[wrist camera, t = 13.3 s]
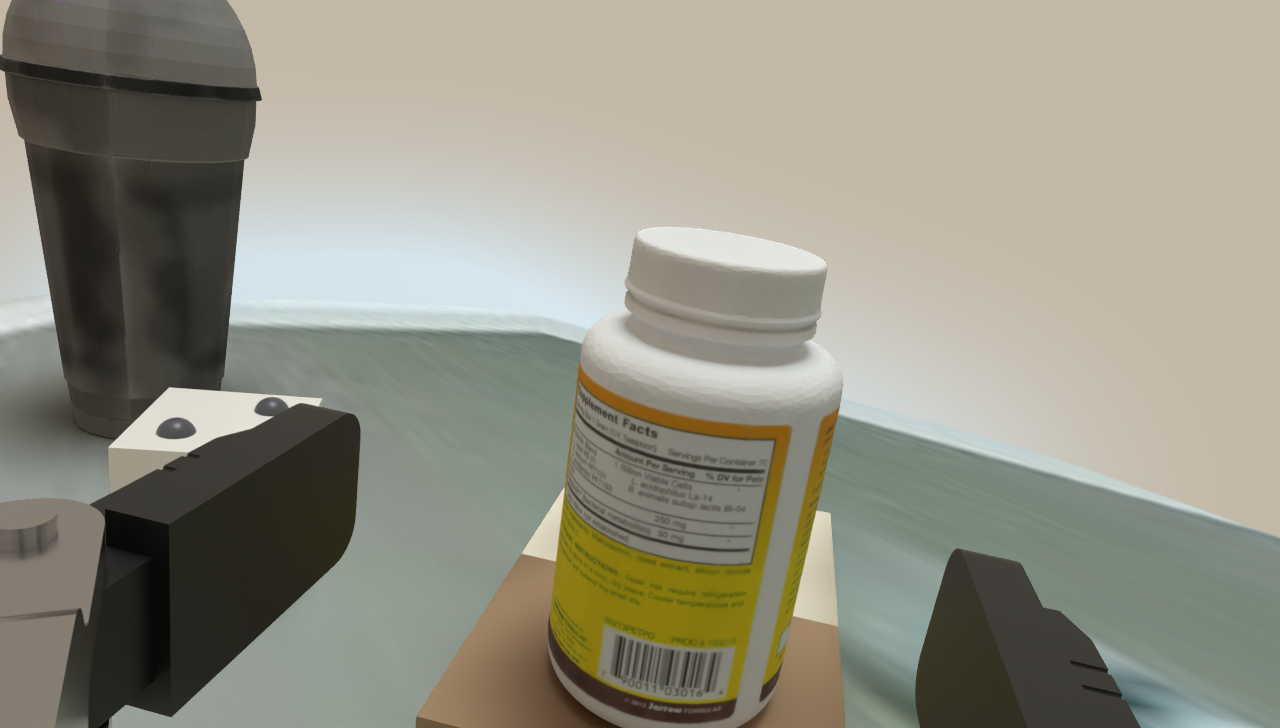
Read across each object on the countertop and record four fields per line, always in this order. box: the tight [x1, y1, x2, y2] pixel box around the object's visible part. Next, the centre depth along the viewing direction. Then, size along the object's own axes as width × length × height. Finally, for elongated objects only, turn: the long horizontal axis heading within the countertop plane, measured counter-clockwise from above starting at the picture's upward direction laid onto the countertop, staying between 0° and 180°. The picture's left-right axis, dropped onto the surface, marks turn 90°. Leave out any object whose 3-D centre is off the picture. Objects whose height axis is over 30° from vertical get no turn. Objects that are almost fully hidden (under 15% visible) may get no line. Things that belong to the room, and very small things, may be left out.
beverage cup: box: [0, 0, 262, 438], centre depth 28 cm, size 7×7×20 cm
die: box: [108, 387, 322, 494], centre depth 22 cm, size 4×4×4 cm
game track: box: [416, 487, 845, 728], centre depth 28 cm, size 9×22×1 cm, turn 170°
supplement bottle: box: [548, 227, 843, 728], centre depth 19 cm, size 6×6×10 cm
